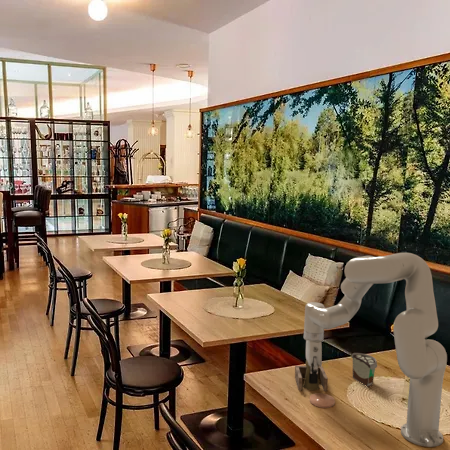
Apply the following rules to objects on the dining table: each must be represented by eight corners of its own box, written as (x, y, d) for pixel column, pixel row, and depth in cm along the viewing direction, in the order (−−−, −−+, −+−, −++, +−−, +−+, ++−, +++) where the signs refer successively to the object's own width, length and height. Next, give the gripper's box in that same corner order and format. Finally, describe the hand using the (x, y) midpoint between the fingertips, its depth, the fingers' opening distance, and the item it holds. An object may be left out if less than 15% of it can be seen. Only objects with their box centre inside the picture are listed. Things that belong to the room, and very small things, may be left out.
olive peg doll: (307, 390, 183) (308, 363, 181) (300, 384, 188) (302, 357, 187) (322, 389, 184) (323, 361, 183) (314, 382, 190) (316, 355, 189)
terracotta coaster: (337, 408, 170) (337, 405, 170) (311, 407, 170) (311, 404, 170) (331, 396, 179) (332, 393, 179) (307, 395, 179) (308, 392, 179)
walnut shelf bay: (327, 391, 183) (327, 378, 182) (298, 390, 183) (299, 377, 182) (321, 378, 194) (322, 366, 193) (294, 377, 194) (295, 365, 193)
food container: (382, 387, 187) (384, 362, 186) (369, 389, 185) (371, 364, 184) (362, 374, 199) (364, 351, 197) (350, 376, 196) (351, 352, 195)
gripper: (327, 343, 175) (325, 389, 177) (319, 327, 192) (317, 370, 194) (307, 342, 175) (305, 389, 177) (300, 327, 192) (299, 369, 195)
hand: (311, 378), depth 186 cm, fingers open, 6 cm apart
